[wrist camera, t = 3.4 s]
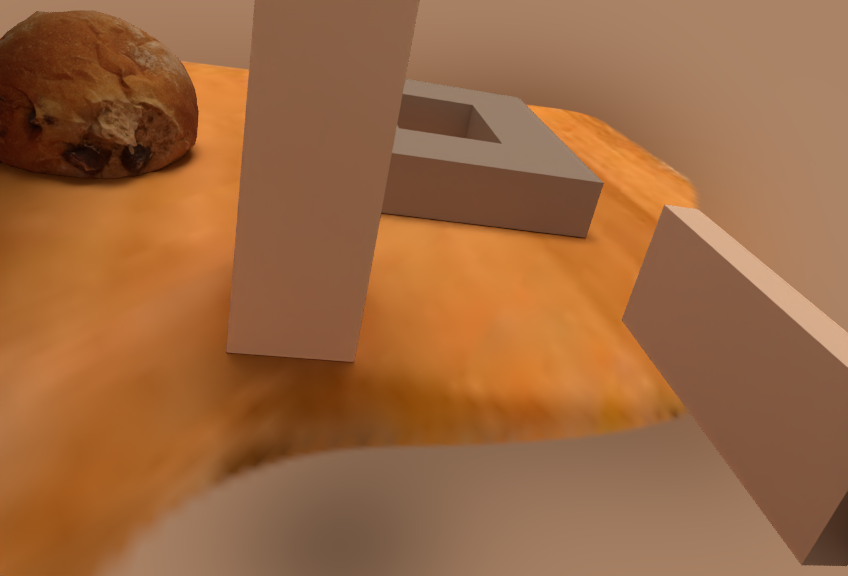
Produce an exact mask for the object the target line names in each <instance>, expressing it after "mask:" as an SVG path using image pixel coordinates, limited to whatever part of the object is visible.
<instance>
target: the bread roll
mask: <svg viewBox="0 0 848 576" xmlns="http://www.w3.org/2000/svg"><path fill="white" fill-rule="evenodd" d="M197 127H198V106H197V98H196V93H195V89H194V86H193V84H192V81H191V79H190V77H189V75H188V73H187V71H186V69H185V67H184V65H183V64H182V63H181V61H180V60H179V59H178V58H177V57H176V56H175V55H174V53H173V52H172V51H171V50H170V49H169V48H167V47H166V46H165V45H164V44H163V43H161V42H159V41H158V40H156V39H155V38H154V37H152V36H150V35H148V34H147V33H146V32H144V31H143V30H141V29H139V28H137V27H135V26H134V25H132V24H130V23H128V22H126V21H124V20H122V19H120V18H117V17H114V16H111V15H108V14H104V13H100V12H96V11H68V12H52V13H51V12H50V13H49V12H39V11H37V12H35V13H34V14H33V15H31V16H30V17H29V18H28V19H26V20H24V21H22V22H20V23H18V24H17V25H16V26H15V27H13V28H12V29H11V30H9V31H8V32H7V33H6V34H5V35H4V36H3V37H2V38H1V39H0V161H2V162H3V163H5V164H8V165H11V166H14V167H17V168H20V169H24V170H28V171H31V172H37V173H44V174H53V175H63V176H71V177H77V178H101V179H115V178H120V177H127V176H137V175H139V174H141V173H147V172H153V171H157V170H159V169H162V168H164V167H165V166H166V165H168V164H171V163H172V162H175V161H178V160H180V159H181V158H182V157H184V156H185V152H186V151H187V150H189V149H190V148H191V147H192V146H194V145H195V141H196V138H197Z"/></svg>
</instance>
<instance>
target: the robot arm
mask: <svg viewBox="0 0 848 576" xmlns="http://www.w3.org/2000/svg"><path fill="white" fill-rule="evenodd" d="M622 321H623V323H624V324H625V325H626V327H627V328H628V329H629V331H630V332H631V333H632V335H633V336H634V338H635V339H636V340H637V342H638V343H639V344H640V346H641V347H642V348H643V350H644V351H645V353H646V354H647V355H648V357H649V358H650V359H651V361H652V362H653V363H654V365H655V366H656V368H657V369H658V370H659V372H660V373H661V374H662V376H663V377H664V378H665V380H666V381H667V382H668V384H669V385H670V387H671V388H672V389H673V391H674V392H675V393H676V395H677V396H678V397H679V399H680V400H681V402H682V403H683V404H684V406H685V407H686V408H687V410H688V411H689V412H690V414H691V415H692V417H693V418H694V419H695V421H696V422H697V423H698V425H699V426H700V427H701V429H702V430H703V432H704V433H705V434H706V436H707V437H708V438H709V440H710V441H711V442H712V444H713V445H714V447H715V448H716V449H717V450H718V452H719V453H720V455H721V456H722V457H723V459H724V460H725V462H726V463H727V464H728V466H729V467H730V468H731V469H732V471H733V472H734V474H735V475H736V477H737V478H738V479H739V480H740V482H741V483H742V485H743V486H744V487H745V489H746V490H747V492H748V493H749V494H750V496H751V497H752V498H753V500H754V501H755V502H756V504H757V505H758V506H759V508H760V509H761V510H762V512H763V513H764V515H765V516H766V517H767V519H768V520H769V522H770V523H771V524H772V526H773V527H774V528H775V530H776V531H777V532H778V534H779V535H780V536H781V538H782V539H783V541H784V542H785V543H786V544H787V546H788V547H789V549H790V550H791V551H792V553H793V554H794V555H795V557H796V558H797V560H798V561H799V562H800V564H801V565H824V566H825V565H827V566H828V565H829V566H831V565H832V566H847V565H848V333H847V332H846V331H845V330H843V329H842V328H841V327H840V326H839V325H838V324H836V323H835V322H834V321H833V320H831V319H830V318H829V317H828V316H827V315H825V314H824V313H823V312H822V311H821V310H819V309H818V308H817V307H816V306H814V305H813V304H812V303H811V302H810V301H808V300H807V299H806V298H805V297H804V296H802V295H801V294H800V293H799V292H797V291H796V290H795V289H794V288H793V287H791V286H790V285H789V284H788V283H787V282H785V281H784V280H783V279H782V278H781V277H779V276H778V275H777V274H775V272H773V271H772V270H771V269H770V268H768V267H767V266H766V265H764V264H763V263H762V262H761V261H760V260H759V259H758V258H756V257H755V256H754V255H753V254H751V253H750V252H749V251H748V250H747V249H745V248H744V247H743V246H742V245H741V244H739V243H738V242H737V241H736V240H734V239H733V238H732V237H731V236H730V235H728V234H727V233H726V232H725V231H724V230H722V229H721V228H720V227H719V226H718V225H716V224H715V223H714V222H713V221H711V220H710V219H709V218H708V217H707V216H705V215H704V214H703V213H702V212H701V211H699V210H698V209H692V208H685V207H678V206H670V205H664V207H663V210H662V213H661V215H660V218H659V221H658V224H657V226H656V229H655V232H654V234H653V237H652V240H651V242H650V245H649V248H648V250H647V253H646V256H645V259H644V261H643V264H642V267H641V269H640V272H639V275H638V277H637V280H636V283H635V286H634V288H633V291H632V294H631V296H630V299H629V302H628V304H627V307H626V310H625V312H624V315H623V318H622Z"/></svg>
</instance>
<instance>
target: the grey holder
mask: <svg viewBox="0 0 848 576" xmlns="http://www.w3.org/2000/svg"><path fill="white" fill-rule="evenodd" d="M603 184H604V183H603V182H602V181H601V180H600V179H599V178H598V177H597V176H596V175H595V174H594V173H593V172H592V171H591V170H590V169H589V168H588V167H587V166H586V165H585V164H584V163H583V162H582V161H581V160H580V159H579V158H578V157H577V156H576V155H575V154H574V153H573V152H572V151H571V150H570V149H569V148H568V147H567V146H566V145H565V144H564V143H563V142H562V141H561V140H560V139H559V138H558V137H557V136H556V135H555V134H554V133H553V132H552V131H551V130H550V129H549V128H548V127H547V126H546V125H545V124H544V123H543V122H542V121H541V120H540V119H539V118H538V117H537V116H536V115H535V114H534V113H533V112H532V111H531V109H530V108H529V107H528V106H527V105H526V104H525V103H524V102H522V100H520V98H517V97H510V96H505V95H499V94H492V93H486V92H480V91H475V90H468V89H462V88H456V87H450V86H444V85H438V84H432V83H426V82H420V81H414V80H408V79H405V84H404V89H403V95H402V100H401V106H400V111H399V117H398V122H397V128H396V134H395V139H394V145H393V150H392V156H391V161H390V167H389V172H388V178H387V183H386V189H385V194H384V200H383V206H382V211H381V213H388V214H396V215H404V216H412V217H420V218H429V219H437V220H445V221H453V222H461V223H469V224H478V225H486V226H494V227H502V228H510V229H518V230H526V231H535V232H543V233H551V234H559V235H567V236H575V237H584V238H586V236H587V233H588V230H589V226H590V223H591V220H592V217H593V214H594V211H595V208H596V205H597V202H598V199H599V196H600V193H601V190H602V187H603Z"/></svg>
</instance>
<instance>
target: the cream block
mask: <svg viewBox="0 0 848 576" xmlns="http://www.w3.org/2000/svg"><path fill="white" fill-rule="evenodd" d="M419 1H420V0H255V5H254V17H253V31H252V43H251V55H250V66H249V79H248V91H247V103H246V115H245V128H244V140H243V152H242V164H241V177H240V189H239V201H238V213H237V226H236V238H235V250H234V262H233V275H232V287H231V299H230V311H229V323H228V336H227V348H226V353H240V354H253V355H266V356H279V357H293V358H306V359H319V360H332V361H346V362H354V361H355V355H356V349H357V344H358V338H359V333H360V327H361V322H362V316H363V311H364V305H365V300H366V294H367V289H368V283H369V277H370V272H371V266H372V261H373V255H374V250H375V244H376V239H377V233H378V228H379V222H380V217H381V211H382V206H383V200H384V194H385V189H386V183H387V178H388V172H389V167H390V161H391V156H392V150H393V145H394V139H395V134H396V128H397V122H398V117H399V111H400V106H401V100H402V95H403V89H404V84H405V78H406V72H407V67H408V62H409V56H410V50H411V45H412V39H413V34H414V28H415V23H416V17H417V12H418V6H419Z"/></svg>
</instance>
